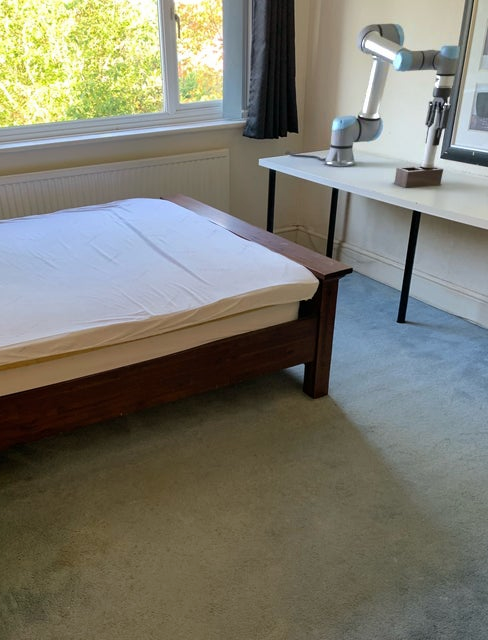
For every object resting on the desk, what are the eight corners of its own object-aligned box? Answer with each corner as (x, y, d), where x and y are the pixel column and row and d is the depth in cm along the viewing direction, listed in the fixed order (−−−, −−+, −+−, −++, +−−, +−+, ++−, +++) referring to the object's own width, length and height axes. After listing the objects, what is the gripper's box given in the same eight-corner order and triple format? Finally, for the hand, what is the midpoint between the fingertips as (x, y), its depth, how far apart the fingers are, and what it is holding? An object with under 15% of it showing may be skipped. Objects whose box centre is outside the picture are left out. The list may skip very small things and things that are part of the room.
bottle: (427, 168, 271) (438, 108, 257) (419, 166, 275) (430, 107, 261) (436, 167, 273) (448, 107, 259) (428, 165, 277) (439, 106, 263)
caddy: (394, 183, 279) (396, 167, 275) (428, 180, 282) (431, 165, 279) (405, 187, 271) (408, 171, 267) (440, 184, 274) (443, 169, 271)
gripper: (423, 85, 262) (413, 141, 275) (447, 89, 248) (436, 148, 260) (438, 84, 264) (428, 140, 277) (463, 88, 249) (451, 147, 262)
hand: (432, 144), depth 268 cm, fingers closed on bottle, 5 cm apart
